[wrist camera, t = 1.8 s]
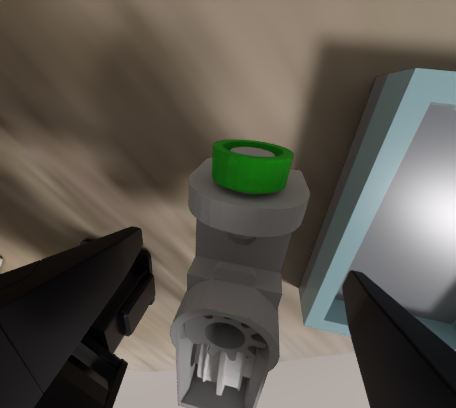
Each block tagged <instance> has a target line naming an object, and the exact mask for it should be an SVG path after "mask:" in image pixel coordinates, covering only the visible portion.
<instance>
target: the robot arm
mask: <svg viewBox="0 0 456 408" xmlns="http://www.w3.org/2000/svg"><path fill="white" fill-rule="evenodd" d="M142 245H143V239H142V230H141V228H138V227H133V226H131V227H128V228H126V229H123V230H120V231H118V232H115V233H112V234H109V235H107V236H104V237H101V238H99V239H96V240H91V239H84V240H83V241H82V242H81V243H80V246H77V247H74V248H72V249H69V250H66V251H63V252H61V253H58V254H55V255H53V256H50V257H47V258H44V259H42V260H41V261H40V260H39V261H36V262H34V263H31V264H28V265H25V266H23V267H20V268H17V269H14V270H11V271H8V272H5V273H2V274H0V408H113V405H114V402H115V399H116V396H117V394H118V391H119V388H120V385H121V382H122V379H123V377H124V374H125V371H126V368H127V365H128V363H127V362H126V361H125V360H123V359H120V358H118V357H117V356H116V355H115V354H113V353H114V352H115V350H116V348H117V347H118V345H119V344H120V342H121V340H122V339H123V337H124V336H130V335H131V334H132V333H133V332H134V330H135V328H136V326H137V325H138V323H139V321H140V320H141V318H142V316H143V315H144V313H145V311H146V310H147V308H148V306H149V305H152V304H153V302H154V300H155V297H154V296H155V284H154V276H153V274H152V262H151V255H150V254H149V253H148V252H146V251H143V250H141V248H142ZM342 292H343V298H344V304H345V310H346V317H347V322H348V328H349V332H350V335H351V339H352V343H353V346H354V350H355V354H356V357H357V361H358V364H359V368H360V372H361V375H362V379H363V382H364V386H365V390H366V394H367V397H368V401H369V405H370V408H456V351H455V350H454V349H452V348H451V347H450V346H449V345H448V344H446V343H445V342H444V341H443V340H442V339H441V338H439V337H438V336H437V335H436V334H435V333H433V332H432V331H431V330H430V329H429V328H428V327H426V326H425V325H424V324H423V323H422V322H421V321H419V320H418V319H417V318H416V317H415V316H413V315H412V314H411V313H410V312H409V311H408V310H406V309H405V308H404V307H403V306H402V305H400V304H399V303H398V302H397V301H396V300H395V299H393V298H392V297H391V296H390V295H389V294H387V293H386V292H385V291H384V290H383V289H382V288H380V287H379V286H378V285H377V284H376V283H374V282H373V281H372V280H371V279H370V278H369V277H367V276H366V275H365V274H364V273H363V272H360V271H355V270H351V271H349V273H348V275H347V277H346V279H345V281H344V283H343V285H342Z"/></svg>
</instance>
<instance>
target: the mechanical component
mask: <svg viewBox="0 0 456 408" xmlns="http://www.w3.org/2000/svg"><path fill="white" fill-rule="evenodd" d="M292 159H293V152H292V151H290V150H288V149H287V148H284V147H281V146H278V145H274V144H270V143H265V142H259V141H250V140H222V141H218V142H216V143H214V145H213V158H207V159H206V160H205V161H204V162H203V163H202V164H201V165H200V166H199V167H198V168H197V169H195V170H194V171H193V172H192V173H191V175H190V176H189V209H190V211H191V213H192V214H193V215H194V216H195V217H196V218H197V225H196V256H195V258H194V260H193V262H192V265H191V267H190V269H189V271H188V273H187V291H186V293H185V296H184V298H183V300H182V302H181V305H180V307H179V309H178V311H177V314H176V316H175V318H174V321H173V323H172V326H171V329H170V337H171V340H172V343H173V345H174V346H175V348H176V368H177V394H178V405H179V406H182V407H186V408H256V406H257V403H258V400H259V397H260V394H261V391H262V388H263V386H264V383H265V380H266V377H267V374H268V372H269V371H270V370H271V369H273V368H274V367H275V366H276V364H277V363H278V360H279V325H278V305H279V302H280V299H281V296H282V282H281V271H282V268H283V264H284V261H285V257H286V254H287V250H288V246H289V243H290V239H291V236H292V232H293V231H294V230H296V229H297V228H298V227H299V226H300V225H301V223H302V221H303V218H304V214H305V211H306V208H307V204H308V201H309V198H310V191H309V188H308V186H307V184H306V181H305V179H304V176H303V174H302V172H301V170H293V169H290V167H291V163H292ZM193 343H194V344H193Z"/></svg>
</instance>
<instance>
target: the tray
mask: <svg viewBox="0 0 456 408" xmlns="http://www.w3.org/2000/svg"><path fill="white" fill-rule="evenodd" d="M351 270H355V271H360V272H363V273H364V274H365V275H366V276H367V277H369V278H370V279H371V280H372V281H373V282H374V283H376V284H377V285H378V286H379V287H380V288H382V289H383V290H384V291H385V292H386V293H387V294H389V295H390V296H391V297H392V298H393V299H395V300H396V301H397V302H398V303H399V304H400V305H402V306H403V307H404V308H405V309H406V310H408V311H409V312H410V313H411V314H412V315H413V316H415V317H416V318H417V319H418V320H419V321H421V322H422V323H423V324H424V325H425V326H426V327H428V328H429V329H430V330H431V331H432V332H433V333H435V334H436V335H437V336H438V337H439V338H441V339H442V340H443V341H444V342H445V343H446V344H448V345H449V346H450V347H451V348H452V349H454V350H455V351H456V72H454V71H443V70H432V69H422V68H413V69H408V70H403V71H398V72H394V73H389V74H384V75H379V76H377V77H376V80H375V82H374V85H373V88H372V90H371V93H370V96H369V99H368V101H367V104H366V107H365V110H364V112H363V115H362V118H361V120H360V123H359V126H358V129H357V131H356V134H355V137H354V140H353V142H352V145H351V148H350V150H349V153H348V156H347V159H346V161H345V164H344V167H343V169H342V172H341V175H340V178H339V180H338V183H337V186H336V189H335V191H334V194H333V197H332V199H331V202H330V205H329V208H328V210H327V213H326V216H325V219H324V221H323V224H322V227H321V229H320V232H319V235H318V238H317V240H316V243H315V246H314V248H313V251H312V254H311V257H310V259H309V262H308V265H307V268H306V270H305V273H304V276H303V278H302V281H301V284H300V287H299V294H300V302H301V309H302V316H303V323H304V326H307V327H311V328H316V329H320V330H324V331H328V332H333V333H337V334H341V335H345V336H350V337H351V335H350V332H349V328H348V322H347V317H346V310H345V304H344V298H343V292H342V285H343V283H344V281H345V279H346V277H347V275H348V273H349V271H351Z"/></svg>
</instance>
